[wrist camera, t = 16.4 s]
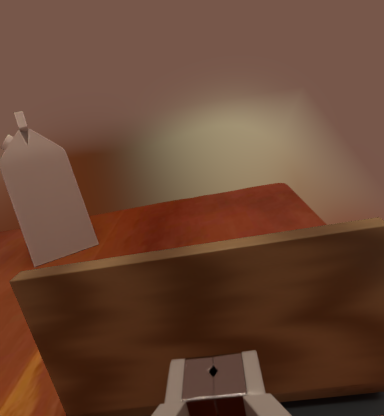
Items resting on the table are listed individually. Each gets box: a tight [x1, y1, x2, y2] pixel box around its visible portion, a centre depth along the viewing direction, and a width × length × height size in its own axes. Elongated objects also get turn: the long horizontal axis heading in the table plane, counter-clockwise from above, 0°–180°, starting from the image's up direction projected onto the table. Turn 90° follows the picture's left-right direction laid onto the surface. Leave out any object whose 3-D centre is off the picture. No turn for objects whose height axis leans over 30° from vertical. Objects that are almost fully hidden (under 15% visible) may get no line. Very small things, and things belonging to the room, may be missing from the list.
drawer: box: [10, 217, 384, 416], centre depth 25 cm, size 22×14×13 cm, turn 88°
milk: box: [0, 111, 99, 267], centre depth 54 cm, size 12×12×26 cm
